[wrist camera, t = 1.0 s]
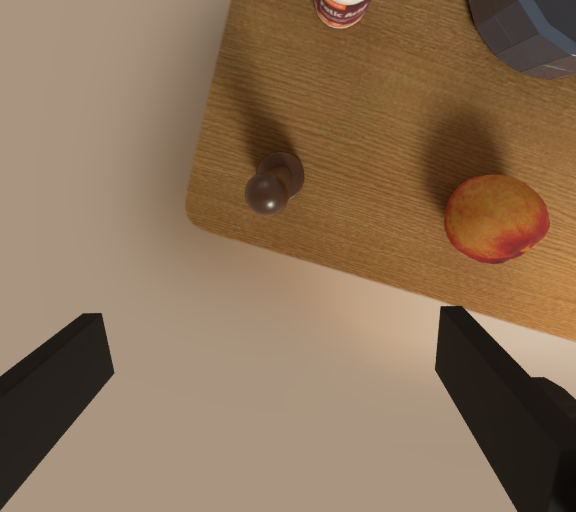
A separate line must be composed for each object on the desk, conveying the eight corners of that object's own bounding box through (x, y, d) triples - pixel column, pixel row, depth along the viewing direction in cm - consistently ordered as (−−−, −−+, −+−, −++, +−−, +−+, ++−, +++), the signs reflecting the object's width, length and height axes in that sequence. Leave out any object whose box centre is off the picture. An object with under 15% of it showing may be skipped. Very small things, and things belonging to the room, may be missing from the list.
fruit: (441, 260, 37) (477, 290, 30) (424, 186, 35) (458, 197, 28) (519, 237, 36) (577, 262, 29) (507, 159, 34) (565, 163, 27)
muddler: (252, 162, 35) (211, 176, 20) (293, 144, 35) (284, 142, 19) (271, 203, 36) (246, 247, 21) (311, 186, 36) (316, 217, 20)
